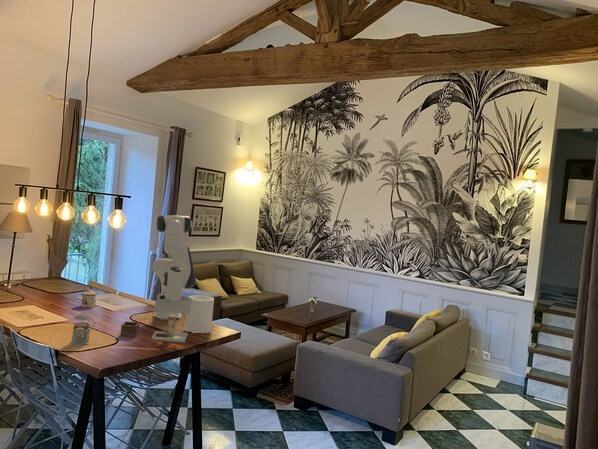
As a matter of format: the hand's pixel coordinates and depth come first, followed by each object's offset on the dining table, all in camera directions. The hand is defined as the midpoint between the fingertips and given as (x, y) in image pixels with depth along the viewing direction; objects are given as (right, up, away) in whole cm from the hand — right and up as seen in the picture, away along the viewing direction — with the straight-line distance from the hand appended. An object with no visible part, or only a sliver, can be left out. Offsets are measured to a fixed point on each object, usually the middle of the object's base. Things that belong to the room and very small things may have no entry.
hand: (171, 320), depth 248 cm
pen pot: (-23, -8, -3) cm, 24 cm away
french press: (-40, -7, -22) cm, 46 cm away
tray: (-1, -10, 0) cm, 10 cm away
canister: (+10, -11, +22) cm, 27 cm away
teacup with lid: (-71, -2, +51) cm, 88 cm away
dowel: (-1, -10, 0) cm, 10 cm away
